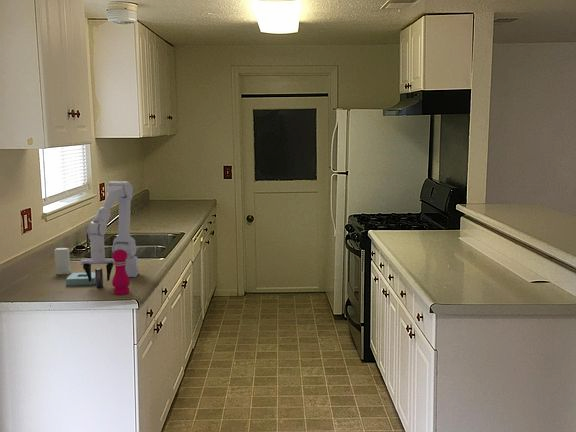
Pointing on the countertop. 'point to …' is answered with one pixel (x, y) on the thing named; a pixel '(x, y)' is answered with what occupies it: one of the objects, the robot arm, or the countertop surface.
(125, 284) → the pepper mill
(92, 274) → the socket block
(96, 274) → the metal peg
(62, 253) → the skincare box
